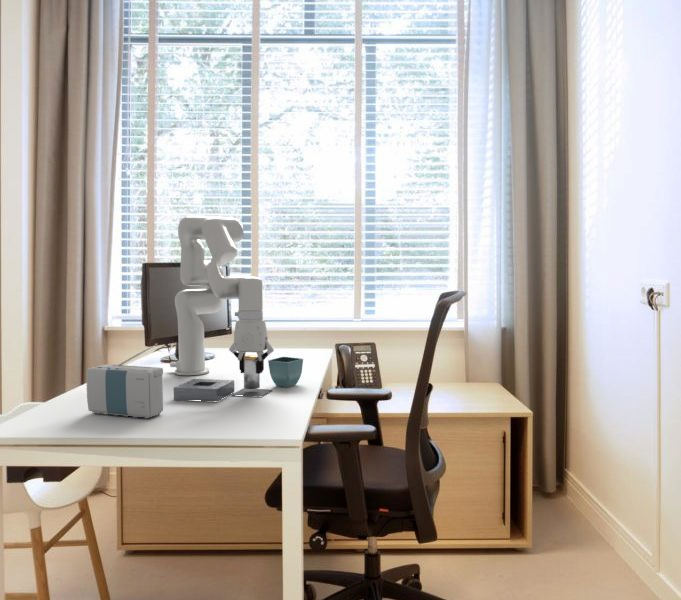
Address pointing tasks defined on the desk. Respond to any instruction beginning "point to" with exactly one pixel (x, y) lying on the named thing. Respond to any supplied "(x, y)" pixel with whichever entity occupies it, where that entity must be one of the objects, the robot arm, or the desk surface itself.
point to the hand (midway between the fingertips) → (251, 372)
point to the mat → (252, 392)
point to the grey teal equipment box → (125, 389)
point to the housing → (204, 390)
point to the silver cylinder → (251, 372)
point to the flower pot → (285, 370)
